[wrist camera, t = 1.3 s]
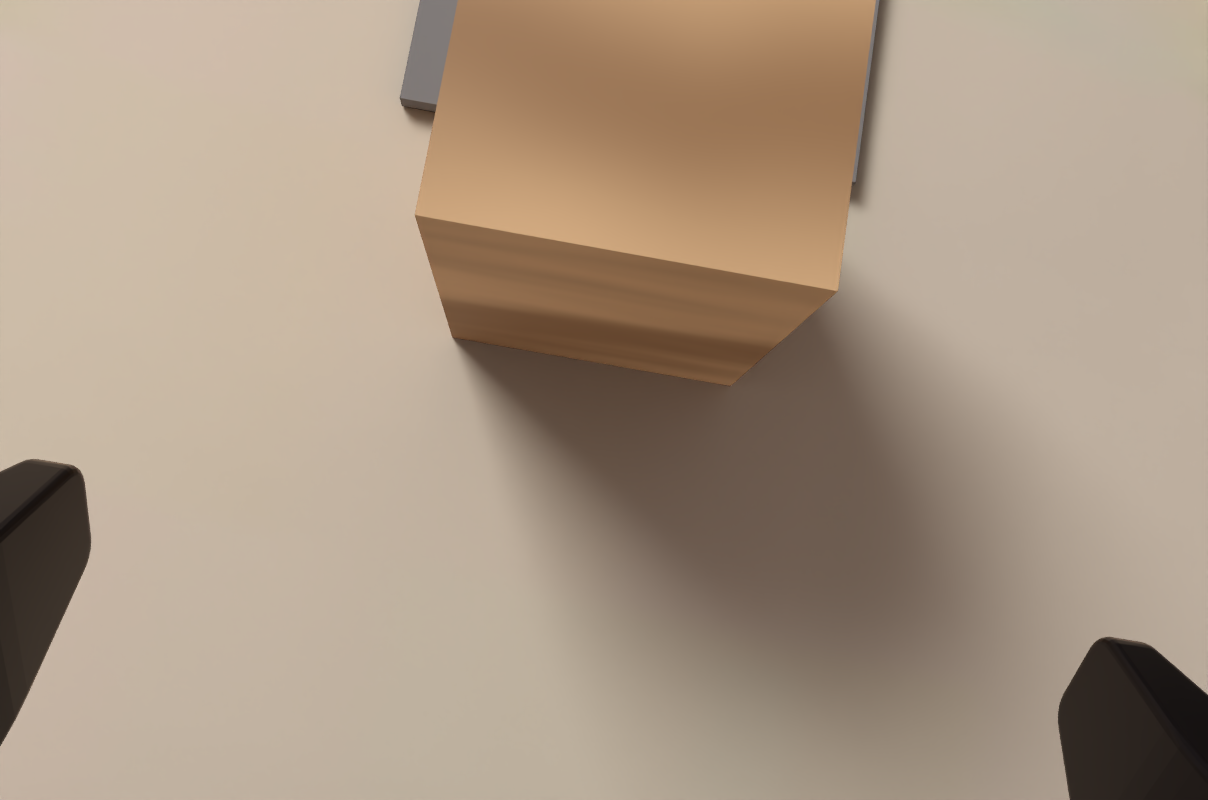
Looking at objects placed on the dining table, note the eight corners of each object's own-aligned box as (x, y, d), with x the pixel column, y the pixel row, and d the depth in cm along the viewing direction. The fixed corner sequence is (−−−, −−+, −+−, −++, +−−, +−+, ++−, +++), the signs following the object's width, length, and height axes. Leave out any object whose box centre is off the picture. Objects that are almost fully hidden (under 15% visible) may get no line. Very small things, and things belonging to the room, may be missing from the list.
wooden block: (730, 385, 23) (837, 291, 15) (452, 337, 23) (414, 215, 15) (759, 187, 24) (876, -1, 16) (490, 138, 24) (473, -78, 16)
